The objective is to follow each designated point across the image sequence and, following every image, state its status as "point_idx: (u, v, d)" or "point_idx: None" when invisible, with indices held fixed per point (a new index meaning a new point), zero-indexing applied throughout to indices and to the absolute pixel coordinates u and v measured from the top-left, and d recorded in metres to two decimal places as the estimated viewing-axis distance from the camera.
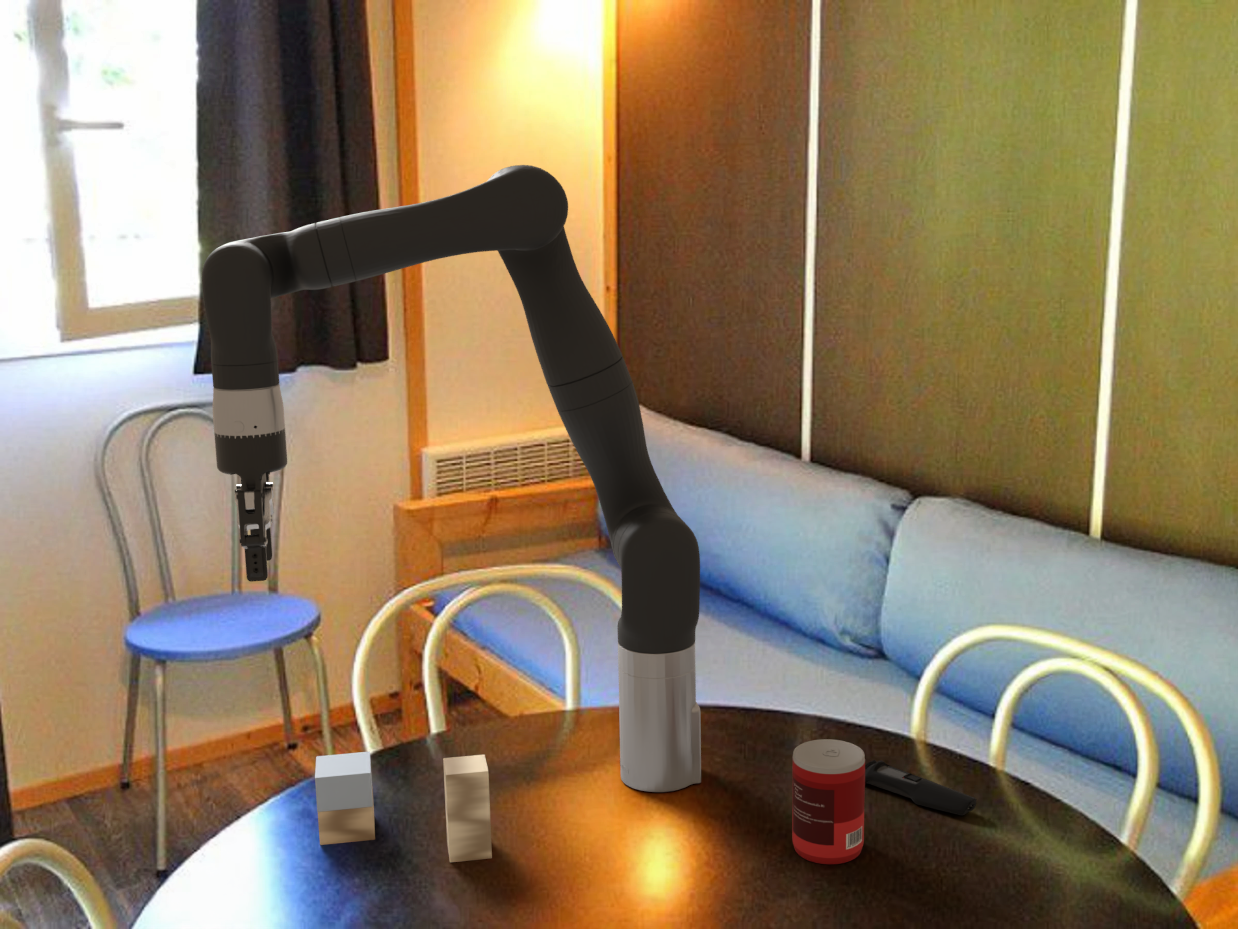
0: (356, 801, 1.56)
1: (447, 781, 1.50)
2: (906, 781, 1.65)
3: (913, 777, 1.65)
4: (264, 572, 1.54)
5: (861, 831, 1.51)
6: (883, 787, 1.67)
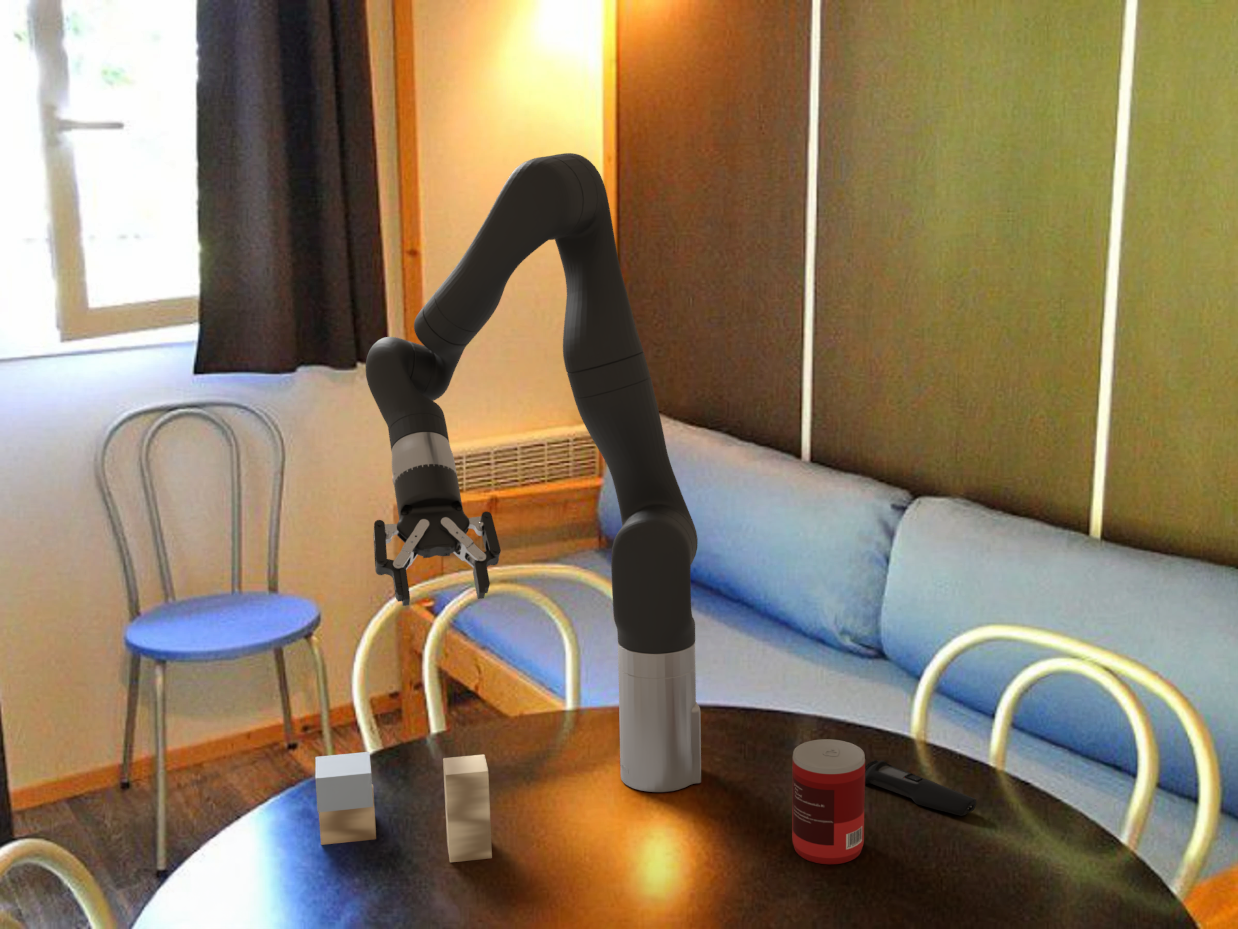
0: (356, 801, 1.56)
1: (447, 781, 1.50)
2: (907, 781, 1.65)
3: (914, 777, 1.65)
4: (402, 592, 1.59)
5: (861, 831, 1.51)
6: (884, 787, 1.67)
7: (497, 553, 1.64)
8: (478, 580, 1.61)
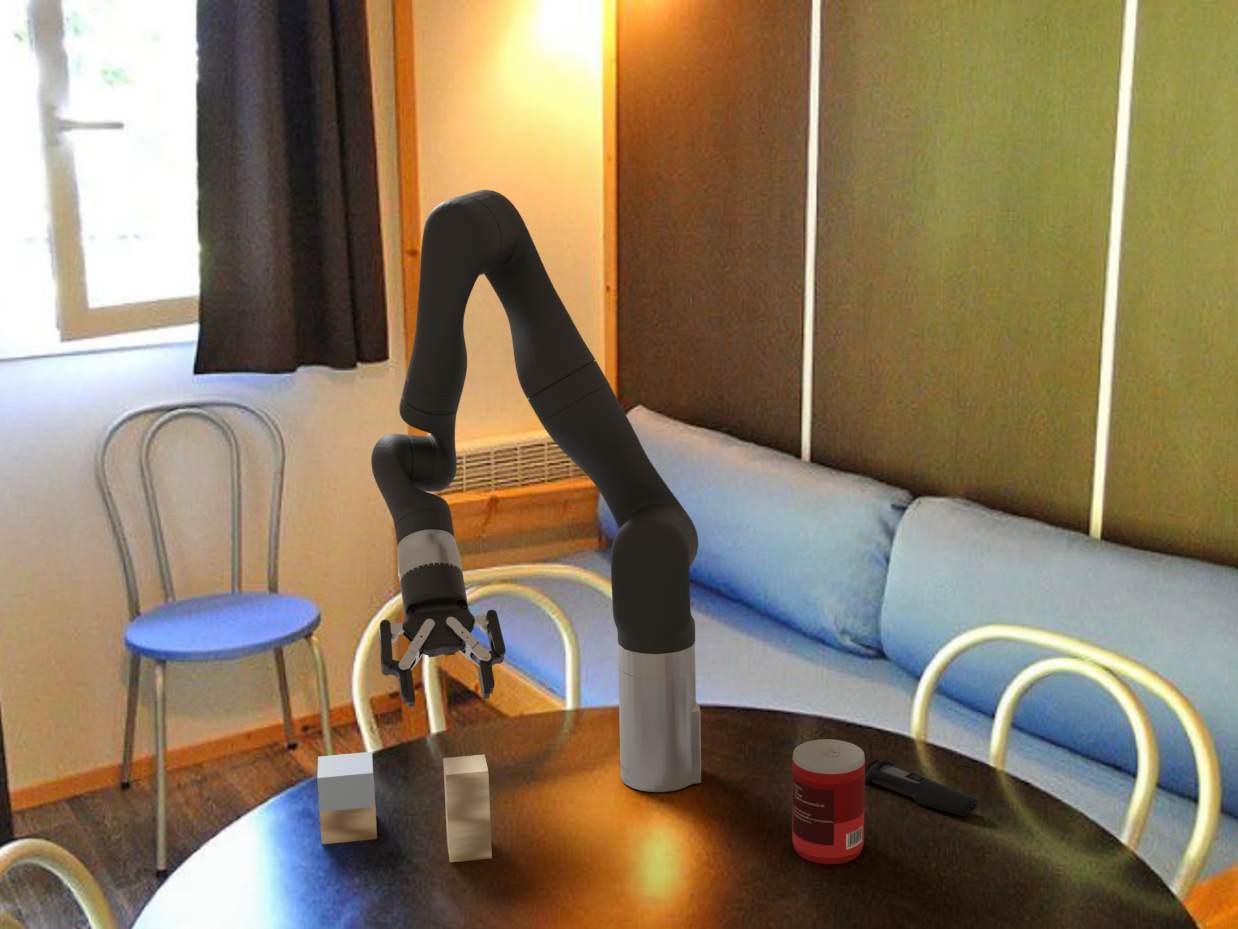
0: (358, 801, 1.56)
1: (447, 781, 1.50)
2: (908, 780, 1.65)
3: (916, 776, 1.65)
4: (408, 694, 1.60)
5: (861, 831, 1.51)
6: (886, 786, 1.67)
7: (502, 653, 1.65)
8: (483, 681, 1.62)
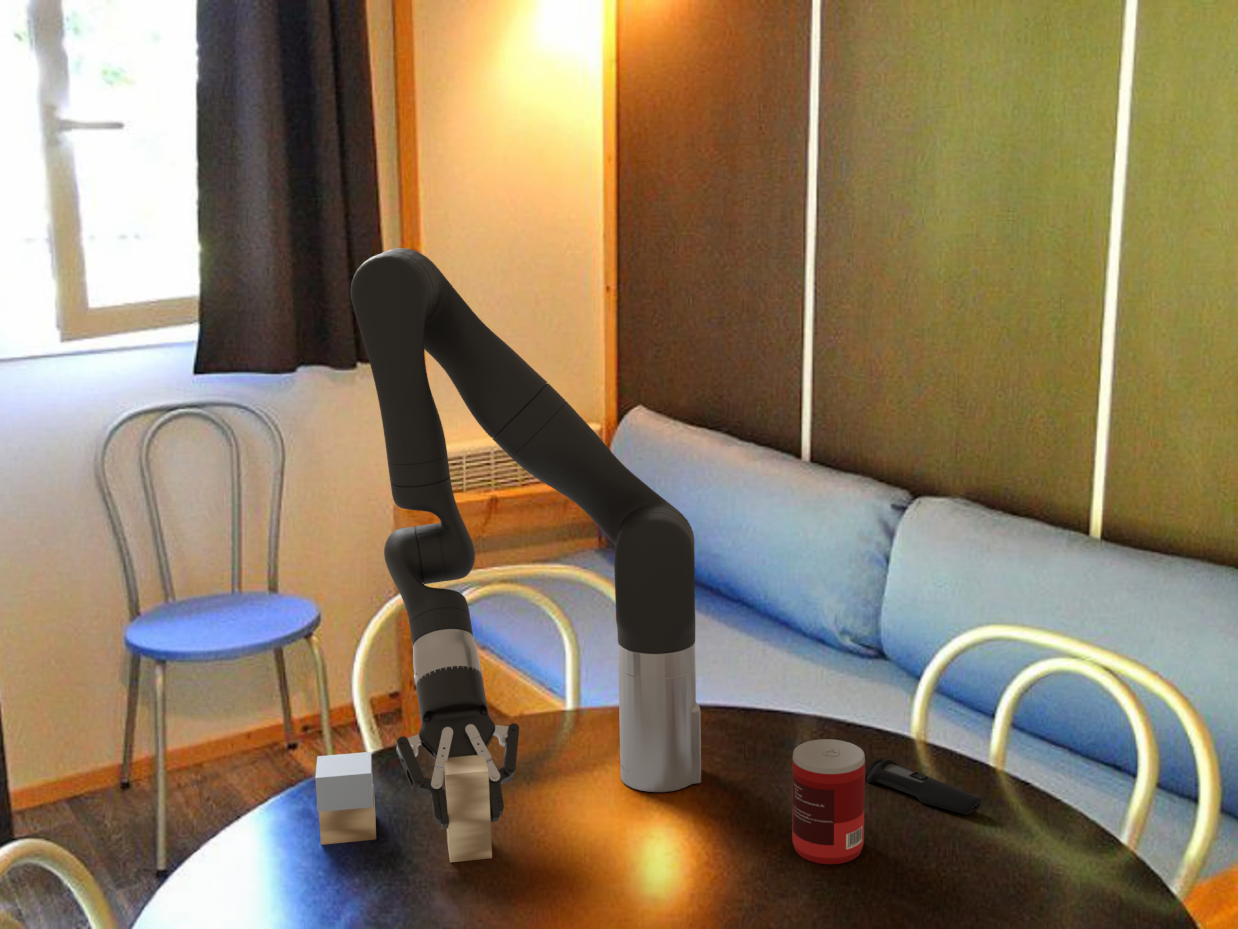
0: (356, 801, 1.56)
1: (447, 781, 1.50)
2: (912, 780, 1.65)
3: (919, 776, 1.65)
4: (441, 815, 1.51)
5: (861, 831, 1.51)
6: (890, 785, 1.68)
7: (512, 772, 1.55)
8: (492, 803, 1.52)
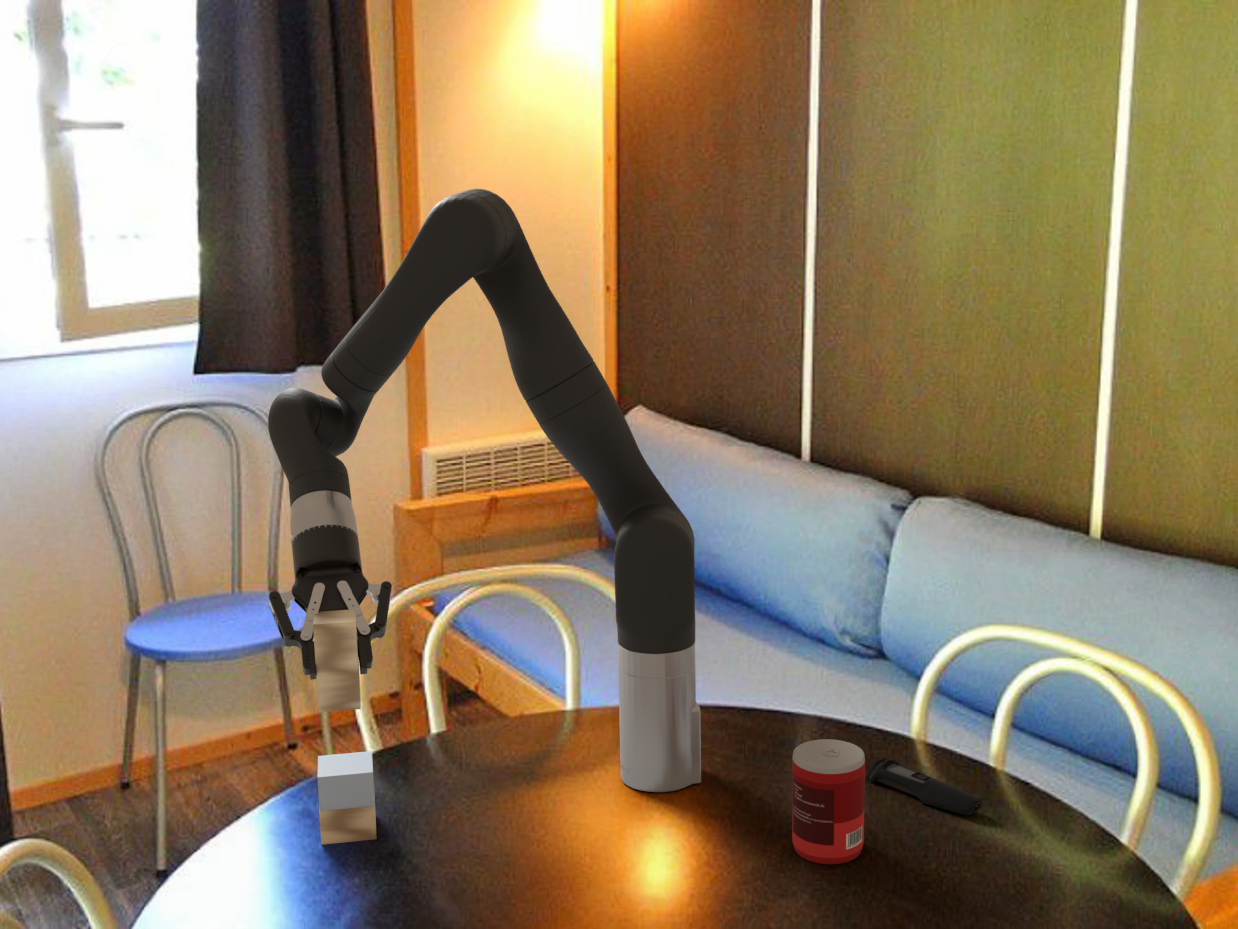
0: (358, 800, 1.57)
1: (314, 630, 1.53)
2: (914, 780, 1.65)
3: (921, 776, 1.65)
4: (309, 665, 1.53)
5: (861, 831, 1.51)
6: (892, 785, 1.68)
7: (382, 626, 1.57)
8: (360, 655, 1.55)
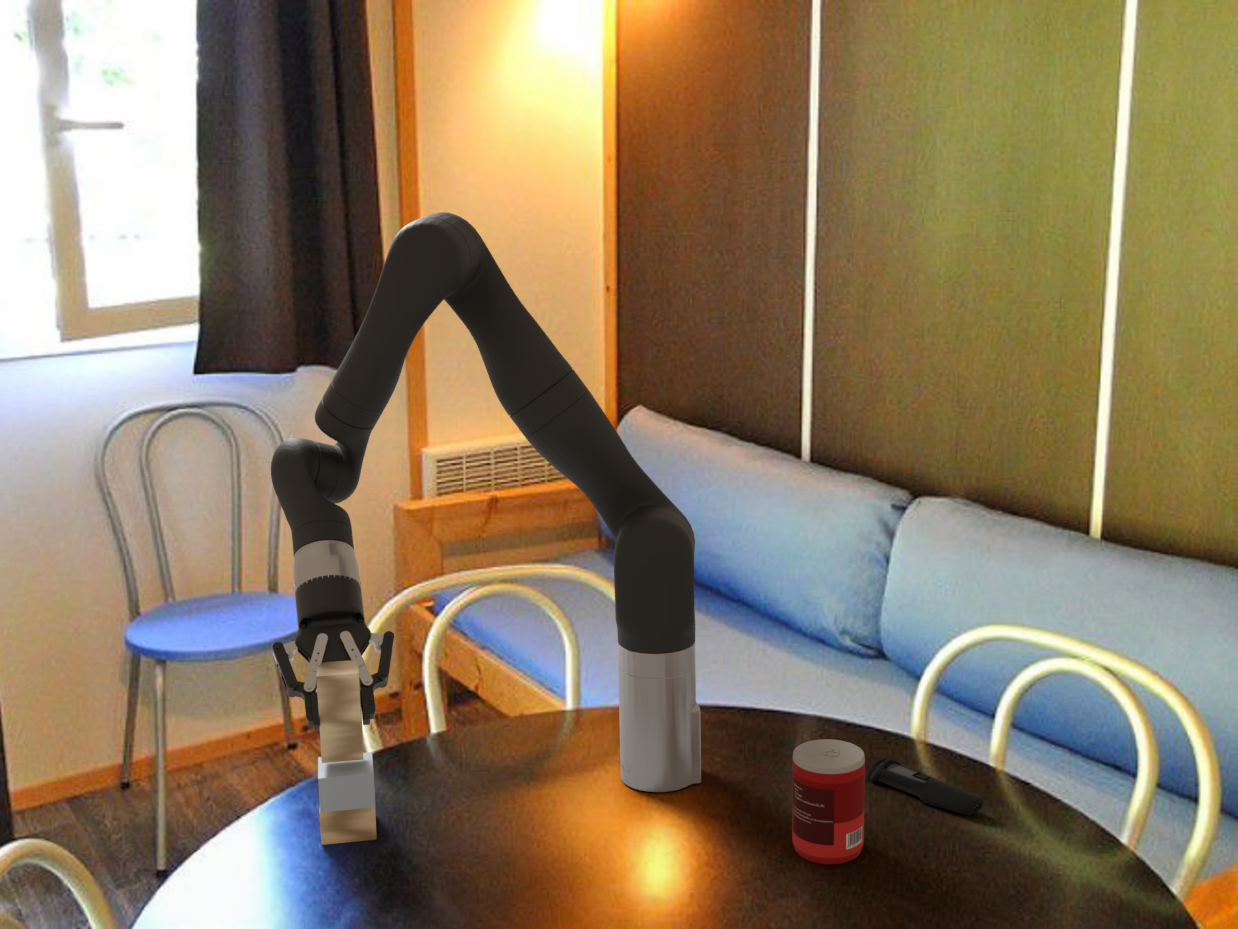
0: (359, 801, 1.56)
1: (318, 682, 1.54)
2: (914, 780, 1.65)
3: (922, 776, 1.65)
4: (312, 717, 1.55)
5: (861, 831, 1.51)
6: (892, 785, 1.68)
7: (384, 676, 1.58)
8: (363, 706, 1.56)
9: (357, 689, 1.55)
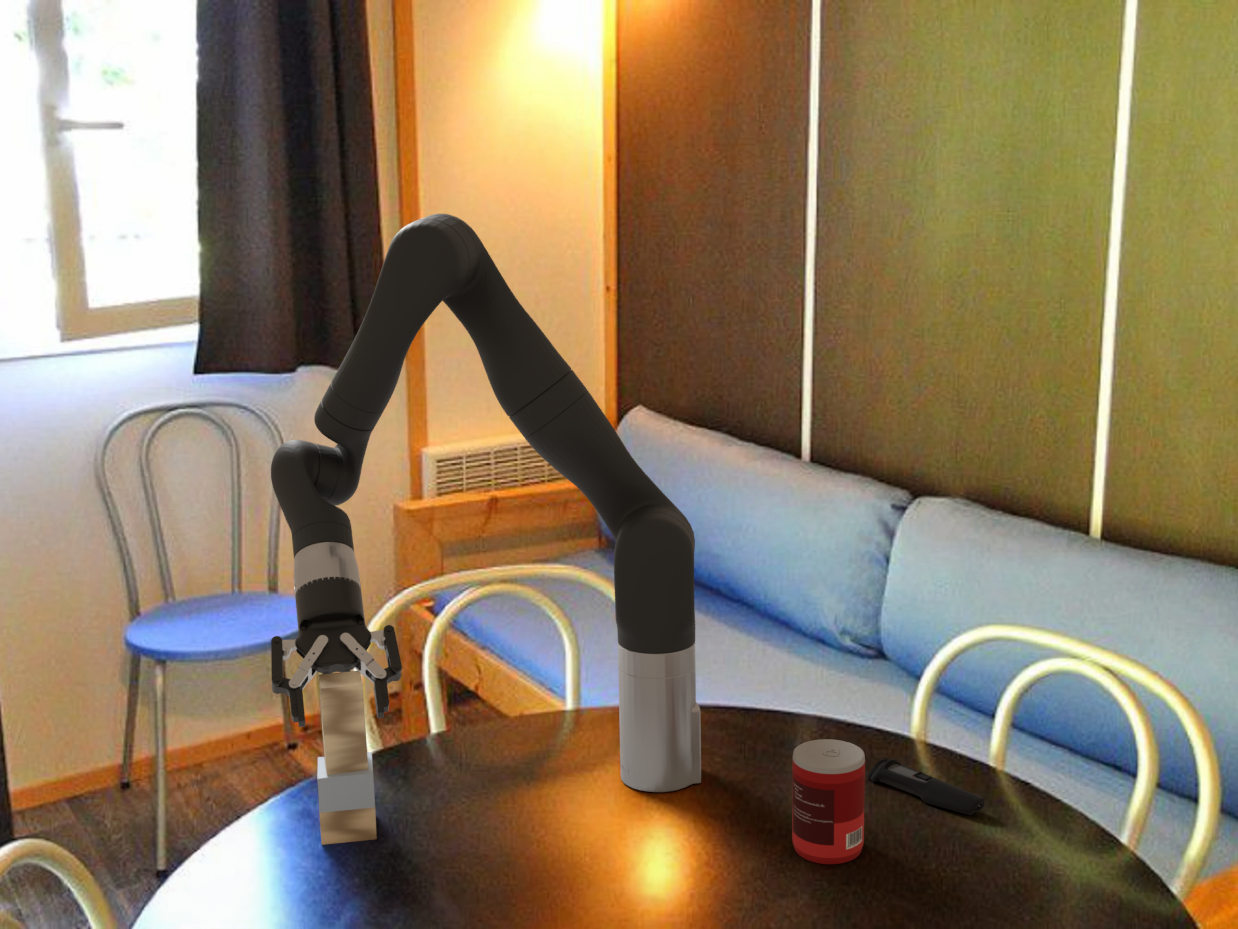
0: (358, 802, 1.56)
1: (322, 695, 1.54)
2: (916, 780, 1.65)
3: (923, 776, 1.65)
4: (297, 713, 1.55)
5: (861, 831, 1.51)
6: (893, 785, 1.68)
7: (398, 670, 1.59)
8: (377, 699, 1.57)
9: (361, 700, 1.55)
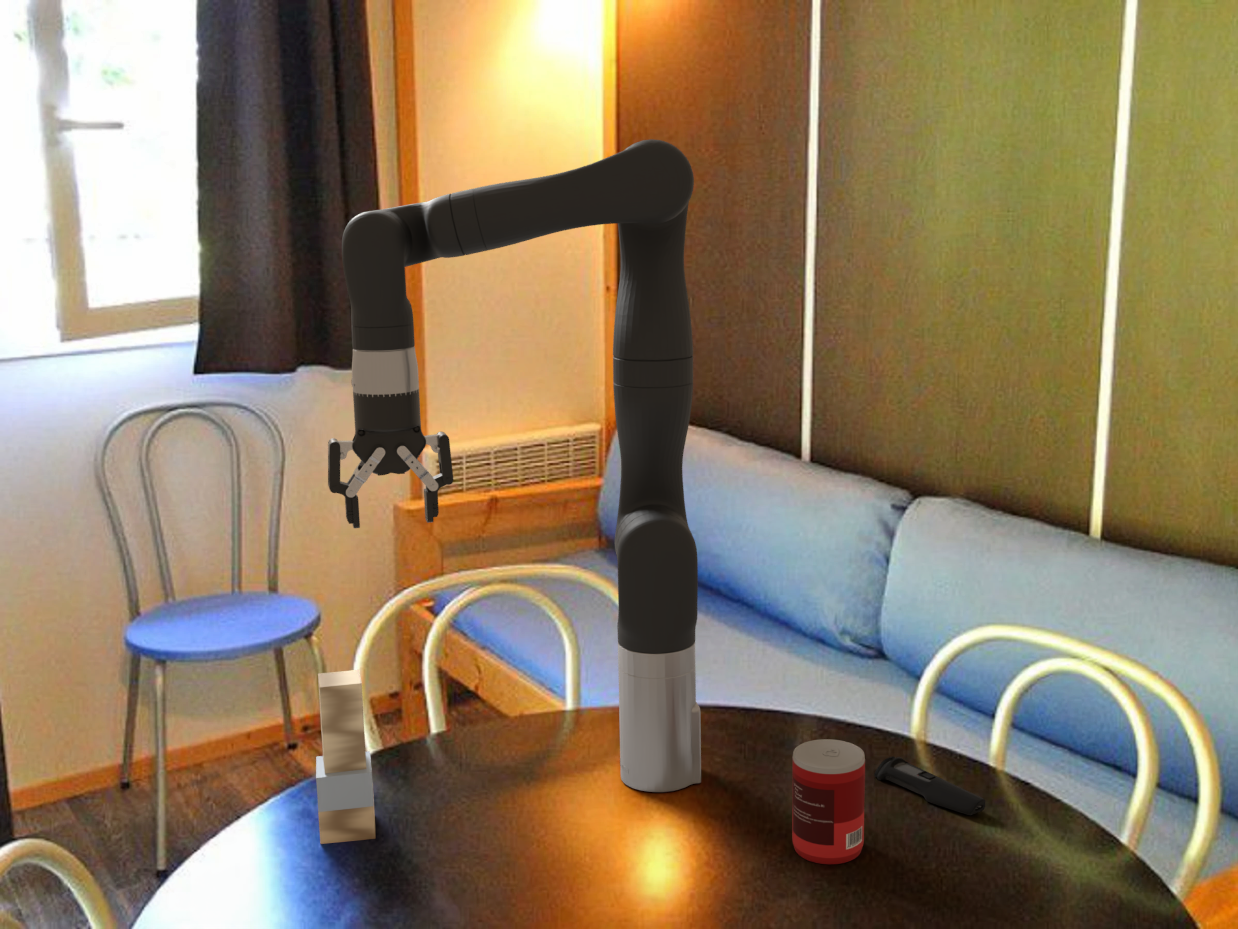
0: (357, 801, 1.56)
1: (321, 693, 1.54)
2: (919, 779, 1.65)
3: (927, 775, 1.66)
4: (353, 521, 1.64)
5: (861, 831, 1.51)
6: (899, 783, 1.68)
7: (449, 483, 1.66)
8: (427, 511, 1.66)
9: (360, 699, 1.55)
